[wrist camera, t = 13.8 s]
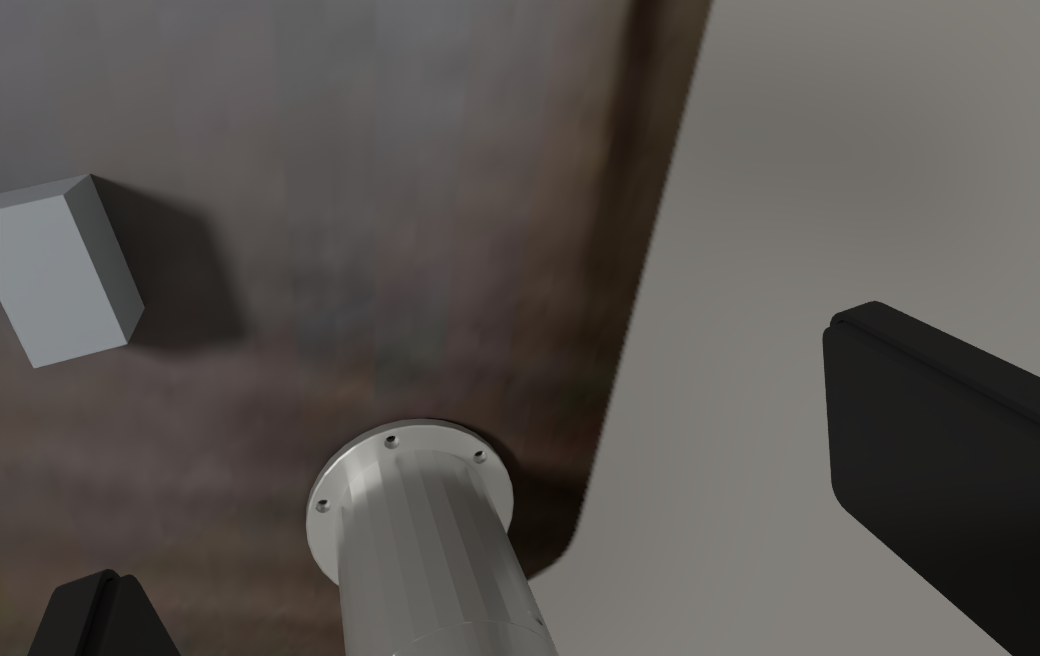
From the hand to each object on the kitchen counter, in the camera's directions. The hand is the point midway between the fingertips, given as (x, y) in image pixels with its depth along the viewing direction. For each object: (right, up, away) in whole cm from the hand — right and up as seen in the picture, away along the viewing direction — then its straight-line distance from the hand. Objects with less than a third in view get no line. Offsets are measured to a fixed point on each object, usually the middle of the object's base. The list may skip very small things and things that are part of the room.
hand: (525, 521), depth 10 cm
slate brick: (-22, +6, +28) cm, 36 cm away
